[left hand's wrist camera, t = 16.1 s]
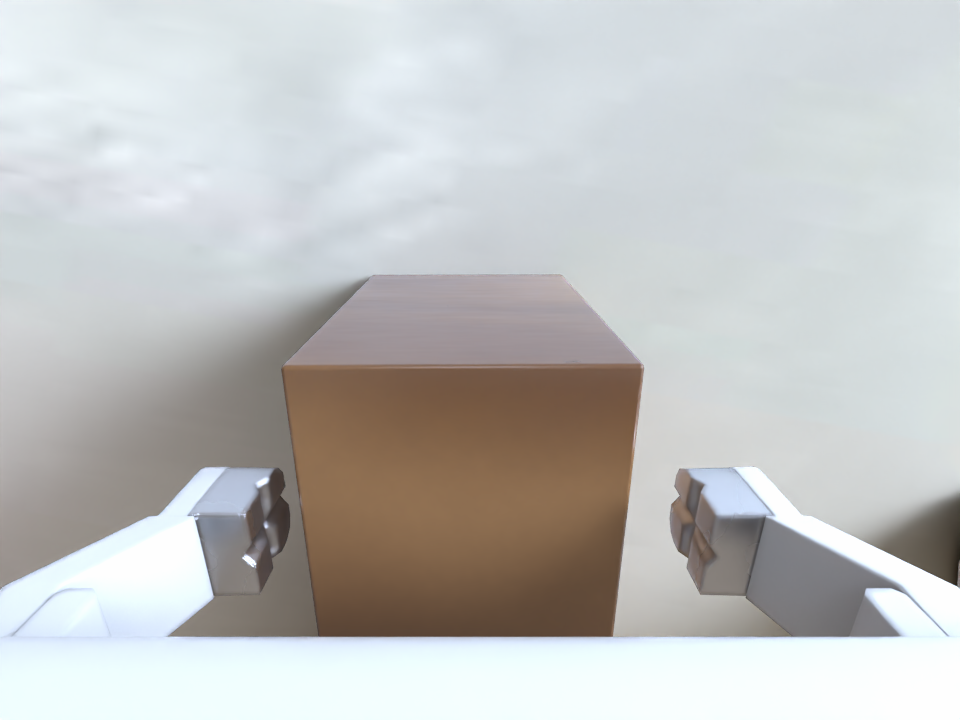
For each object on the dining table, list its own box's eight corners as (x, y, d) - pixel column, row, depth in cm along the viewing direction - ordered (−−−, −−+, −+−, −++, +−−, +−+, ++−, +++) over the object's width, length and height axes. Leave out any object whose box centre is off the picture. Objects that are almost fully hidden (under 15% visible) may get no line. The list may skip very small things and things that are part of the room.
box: (371, 274, 17) (278, 366, 9) (562, 274, 17) (646, 364, 9) (404, 742, 25) (371, 1025, 17) (536, 740, 25) (568, 1020, 17)
